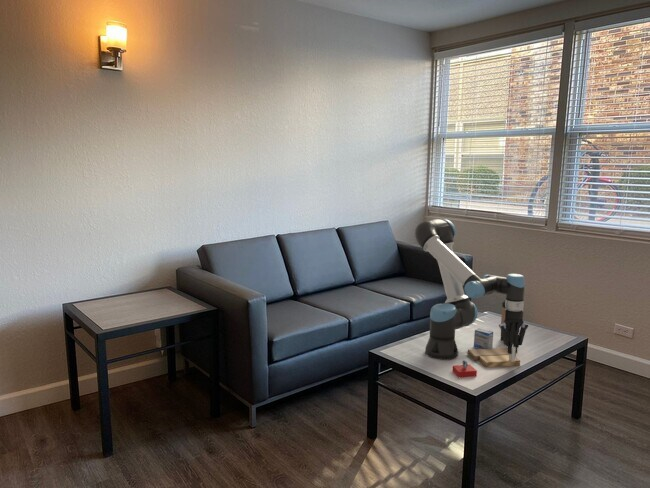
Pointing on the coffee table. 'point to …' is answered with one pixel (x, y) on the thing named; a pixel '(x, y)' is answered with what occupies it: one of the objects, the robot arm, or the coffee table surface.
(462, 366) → the red rectangular block
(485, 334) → the medicine box
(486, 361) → the plank
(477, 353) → the laid strip
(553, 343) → the coffee table surface
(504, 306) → the travel mug
